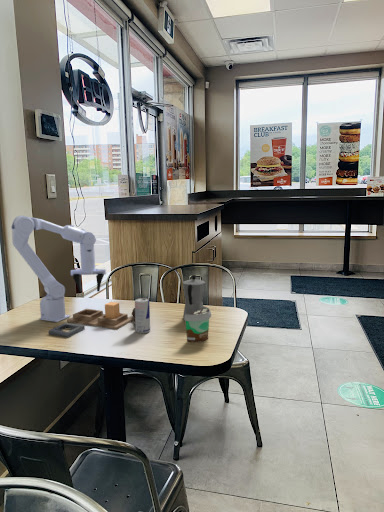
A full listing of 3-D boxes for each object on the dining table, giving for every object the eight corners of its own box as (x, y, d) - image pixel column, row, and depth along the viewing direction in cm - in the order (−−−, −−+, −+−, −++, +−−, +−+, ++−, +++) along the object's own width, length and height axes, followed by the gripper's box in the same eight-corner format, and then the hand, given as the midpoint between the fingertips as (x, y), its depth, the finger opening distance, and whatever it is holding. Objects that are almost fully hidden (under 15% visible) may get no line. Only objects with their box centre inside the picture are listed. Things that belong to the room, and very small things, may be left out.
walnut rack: (66, 321, 154) (66, 315, 154) (85, 313, 165) (85, 307, 165) (117, 329, 145) (116, 322, 144) (134, 319, 156) (133, 313, 155)
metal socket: (48, 334, 141) (48, 330, 140) (65, 326, 149) (65, 322, 148) (68, 337, 137) (68, 333, 137) (84, 329, 145) (84, 325, 145)
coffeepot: (186, 312, 165) (185, 271, 162) (208, 313, 163) (208, 272, 160) (177, 324, 150) (177, 279, 147) (201, 325, 148) (201, 280, 145)
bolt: (138, 319, 162) (143, 329, 148) (127, 314, 161) (132, 324, 147) (144, 306, 163) (150, 316, 148) (134, 302, 161) (139, 311, 147)
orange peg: (105, 321, 151) (104, 304, 150) (111, 318, 155) (110, 301, 154) (114, 322, 150) (113, 305, 149) (119, 319, 153) (119, 302, 152)
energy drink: (152, 329, 144) (151, 298, 142) (146, 334, 139) (145, 302, 138) (139, 328, 146) (138, 297, 144) (133, 332, 141) (132, 301, 139)
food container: (200, 346, 128) (199, 317, 126) (184, 342, 131) (184, 314, 130) (217, 334, 138) (217, 307, 137) (202, 331, 142) (202, 305, 140)
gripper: (67, 261, 158) (69, 293, 161) (103, 261, 159) (105, 293, 161) (72, 259, 165) (74, 289, 168) (106, 258, 166) (107, 289, 168)
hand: (89, 291), depth 165 cm, fingers open, 7 cm apart
